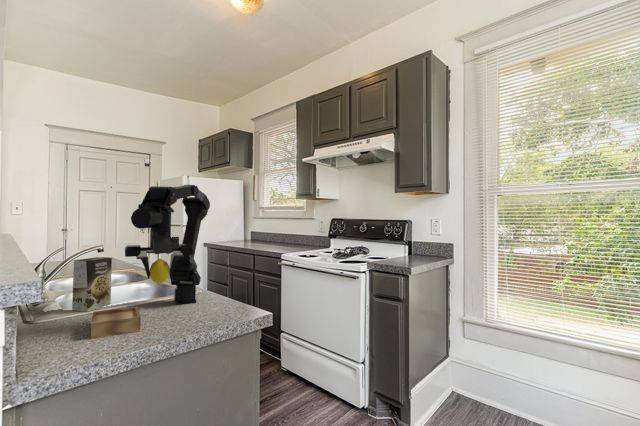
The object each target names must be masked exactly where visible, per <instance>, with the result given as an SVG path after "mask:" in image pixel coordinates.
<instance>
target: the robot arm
mask: <svg viewBox="0 0 640 426" xmlns="http://www.w3.org/2000/svg"><path fill="white" fill-rule="evenodd" d="M179 199H182V201H181V203H182V204H183V207H184V212H185V214H186V217H187V218H186V219H187V220H186V225H185V228H184V229H185V230H184V233H183V238H182V243H180V237H179V236H172V234H171V233H172V213H175V210H174V208H172V205H174V204H176V203H177V201H178V200H179ZM210 207H211V203H210V200H209V198H208V197H207V194H205V193H204V192H203V191H202V190H200V188H199V187H198V186H197V185H195V184H183V185H179V186H158V185H157V186H153V185H152V186H149V187H148V190H147V192H146V193H145V196H144V197H143V200H142V201H141V203H140V204H138V206H137V209H135V210H134V211H132V214H131V216H130V221H131V223H132V225H133V227H134V228H137V229H141V230H142V229H149V230H150V231H149V247H148V246H147V247H142V246H141V245H140V244H135V245H134V244H133V245H132V244H129V245H126V246H125V247H124V256H125V258H126V257H127V258H128V257H129V258H130V257H135V258H136V260H141V263H142V265H143V267H144V270H145V274H146V276H147V279H148V280H150V279H151V278H150V263H149V256H148V254H155V255H160V254H167V255H169V254H170V262H169V269H170V273H169V277H168V278H169V280H170V284H171V286H175V288H174V289H173V301H174V302H175V303H176V304H177V305H185V304H192V303H193V304H194V303H197V302H198V301H197V300H196V290H197V286H199V285H200V283H201V279H202V278H201V276H200V274H199V272H198V269H197V268H198V264H197V262H196V260H195V253H196V250H197V244H198V239H199V234H200V229H201V223H202V221H203V219H205V218H206V217H207V215H208V212H209V210H210Z"/></svg>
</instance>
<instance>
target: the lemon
mask: <svg viewBox="0 0 640 426" xmlns="http://www.w3.org/2000/svg"><path fill="white" fill-rule="evenodd" d="M169 268H170V264H169V262H167V261H166V260H164V259H162V258H158V259H157V260H155V261H154V262H152V263H151V266H150V267H149V271H150V279H151V281H152V282H153V283H156V284H157V285H158V286H159V285H162V283H164V282H165V281H167V280H168V279H169V278H170V277H169V273H170V269H169Z"/></svg>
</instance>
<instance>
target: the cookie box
mask: <svg viewBox="0 0 640 426" xmlns="http://www.w3.org/2000/svg"><path fill="white" fill-rule="evenodd" d="M112 261H113V257H104V256H103V257H102V256H101V257H97V256H94V257H90V258H89V257H88V258H82V259H74V260H73V272H72V273H73V275H72V276H73V277H72V299H71V300H72V301H71V304H72V305H71V310H72V311H79V312H87V313H88V312H91V311H93V310H98V309H100V308H104V307H107V306H110V305H111V302H112V268H113V267H112V266H113V263H112Z"/></svg>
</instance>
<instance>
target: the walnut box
mask: <svg viewBox="0 0 640 426" xmlns="http://www.w3.org/2000/svg"><path fill="white" fill-rule="evenodd" d="M91 317H92V318H91V323H90V340H91V339H99V338H105V337H111V336H118V335H119V336H121V335H124V334H133V333H139V332H141V324H142V323H141V322H142V321H141V318H142V317H141V313H140V308H139V306H132V307H123V308H122V307H121V308H113V309H105V310H96V311H93V312H92V316H91Z"/></svg>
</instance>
